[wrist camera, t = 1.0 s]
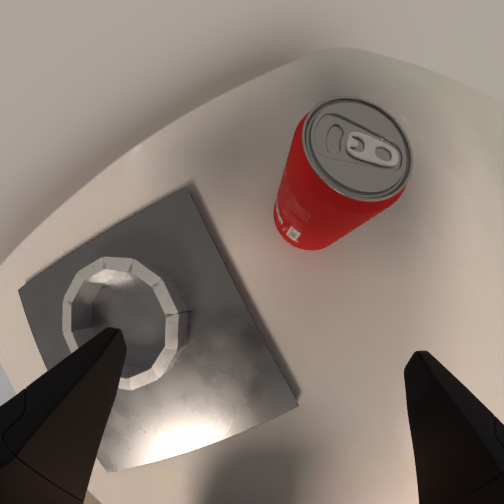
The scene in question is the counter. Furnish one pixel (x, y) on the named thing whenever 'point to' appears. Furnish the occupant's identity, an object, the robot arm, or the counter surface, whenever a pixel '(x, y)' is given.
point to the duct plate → (161, 334)
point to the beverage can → (340, 171)
